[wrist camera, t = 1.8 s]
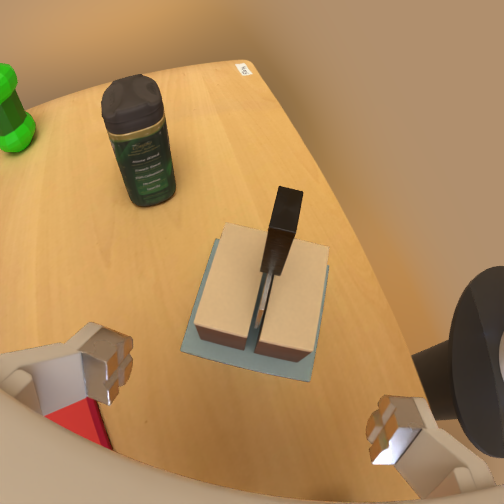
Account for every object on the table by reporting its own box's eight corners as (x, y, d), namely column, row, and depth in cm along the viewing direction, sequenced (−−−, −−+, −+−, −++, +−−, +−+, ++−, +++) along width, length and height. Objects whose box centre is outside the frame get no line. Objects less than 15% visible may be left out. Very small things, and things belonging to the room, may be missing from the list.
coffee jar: (182, 199, 48) (166, 99, 31) (132, 214, 46) (97, 119, 30) (168, 157, 52) (154, 64, 35) (124, 170, 50) (96, 80, 34)
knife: (268, 239, 35) (286, 155, 24) (284, 243, 35) (308, 160, 24) (246, 326, 31) (258, 270, 19) (264, 330, 31) (287, 277, 19)
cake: (215, 240, 45) (213, 204, 37) (327, 267, 44) (347, 236, 36) (180, 351, 37) (168, 335, 30) (308, 382, 36) (329, 374, 29)
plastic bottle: (35, 122, 56) (0, 35, 34) (45, 141, 53) (5, 44, 31) (1, 146, 53) (-41, 63, 31) (8, 168, 50) (-42, 76, 28)
